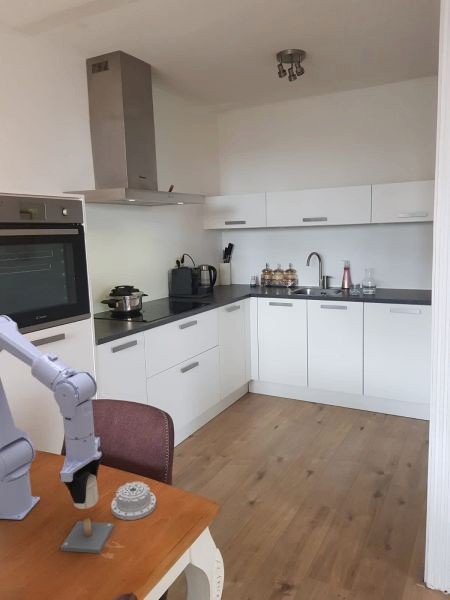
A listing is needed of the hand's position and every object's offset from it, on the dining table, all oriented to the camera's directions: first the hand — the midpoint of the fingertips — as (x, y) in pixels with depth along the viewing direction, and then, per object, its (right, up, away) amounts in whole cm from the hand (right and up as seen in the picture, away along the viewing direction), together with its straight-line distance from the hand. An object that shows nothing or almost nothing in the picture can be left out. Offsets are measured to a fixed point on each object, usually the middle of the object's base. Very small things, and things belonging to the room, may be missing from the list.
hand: (84, 495), depth 95 cm
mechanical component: (+8, -7, +10) cm, 15 cm away
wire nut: (0, -2, 0) cm, 2 cm away
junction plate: (+1, -9, 0) cm, 9 cm away
